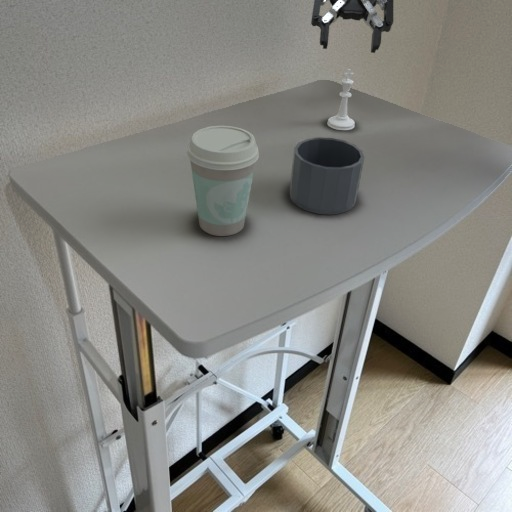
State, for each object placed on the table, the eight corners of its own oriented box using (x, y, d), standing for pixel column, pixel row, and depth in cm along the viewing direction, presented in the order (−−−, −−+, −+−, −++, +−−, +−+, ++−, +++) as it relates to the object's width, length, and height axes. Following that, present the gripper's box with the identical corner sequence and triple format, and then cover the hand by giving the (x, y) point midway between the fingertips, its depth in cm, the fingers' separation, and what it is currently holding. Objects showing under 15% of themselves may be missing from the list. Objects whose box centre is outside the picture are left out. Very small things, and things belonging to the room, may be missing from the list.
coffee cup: (193, 245, 67) (191, 156, 60) (185, 209, 74) (182, 125, 67) (261, 239, 69) (267, 152, 62) (247, 204, 76) (251, 122, 69)
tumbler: (350, 182, 82) (358, 139, 78) (360, 216, 75) (369, 170, 71) (288, 179, 82) (292, 136, 78) (291, 213, 75) (296, 167, 70)
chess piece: (323, 120, 101) (330, 65, 95) (348, 118, 102) (357, 64, 96) (332, 131, 97) (340, 74, 91) (358, 129, 98) (368, 73, 92)
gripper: (318, -53, 96) (310, 33, 93) (400, -47, 95) (395, 40, 93) (314, -25, 103) (307, 56, 101) (391, -19, 103) (385, 62, 100)
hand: (349, 48), depth 97 cm, fingers open, 8 cm apart
